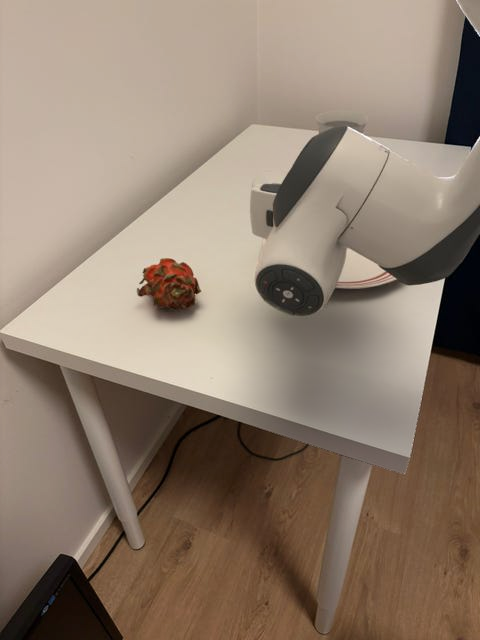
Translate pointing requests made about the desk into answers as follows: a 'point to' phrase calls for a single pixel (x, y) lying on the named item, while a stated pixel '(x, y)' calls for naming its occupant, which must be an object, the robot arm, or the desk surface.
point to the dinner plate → (360, 272)
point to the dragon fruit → (170, 284)
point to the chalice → (341, 120)
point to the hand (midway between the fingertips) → (337, 174)
